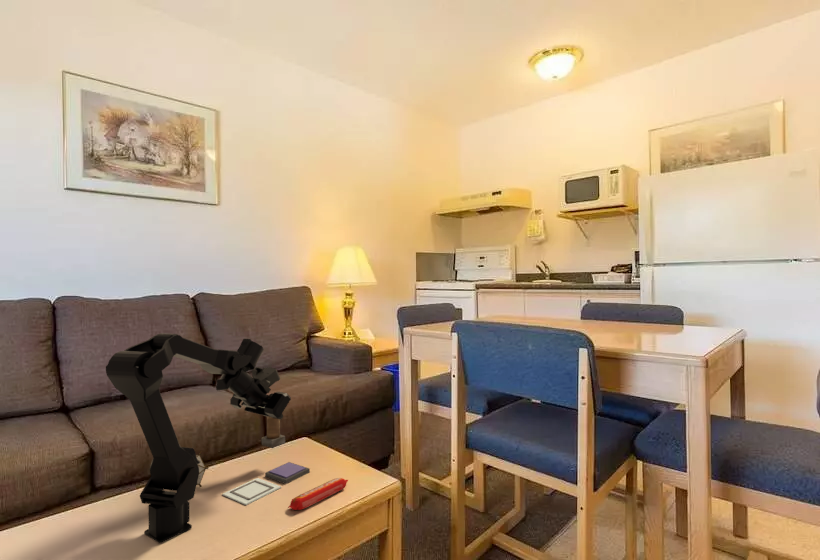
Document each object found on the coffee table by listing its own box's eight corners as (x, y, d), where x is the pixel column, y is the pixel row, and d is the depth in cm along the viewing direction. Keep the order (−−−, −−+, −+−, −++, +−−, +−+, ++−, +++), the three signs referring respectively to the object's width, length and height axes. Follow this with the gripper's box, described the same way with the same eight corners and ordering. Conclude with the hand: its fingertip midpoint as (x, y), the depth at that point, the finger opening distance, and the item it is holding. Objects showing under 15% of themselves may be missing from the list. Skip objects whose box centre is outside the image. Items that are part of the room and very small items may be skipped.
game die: (193, 505, 105) (194, 482, 99) (161, 492, 105) (160, 469, 100) (215, 473, 112) (217, 450, 107) (185, 461, 112) (185, 438, 107)
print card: (246, 505, 97) (245, 503, 97) (222, 495, 102) (222, 493, 102) (281, 487, 105) (281, 485, 105) (257, 478, 110) (257, 477, 110)
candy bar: (339, 484, 107) (339, 472, 107) (349, 488, 105) (349, 476, 105) (285, 511, 95) (285, 497, 95) (295, 516, 93) (295, 502, 93)
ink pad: (286, 484, 107) (286, 478, 107) (265, 476, 112) (265, 471, 112) (309, 472, 114) (309, 467, 114) (289, 465, 118) (289, 460, 118)
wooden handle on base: (272, 448, 114) (272, 399, 115) (261, 445, 117) (261, 397, 117) (285, 443, 118) (285, 396, 118) (274, 440, 121) (274, 394, 121)
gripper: (285, 362, 109) (316, 396, 119) (239, 356, 120) (271, 388, 129) (259, 400, 103) (294, 433, 112) (213, 390, 113) (249, 421, 122)
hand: (277, 416), depth 119 cm, fingers closed on wooden handle on base, 3 cm apart
